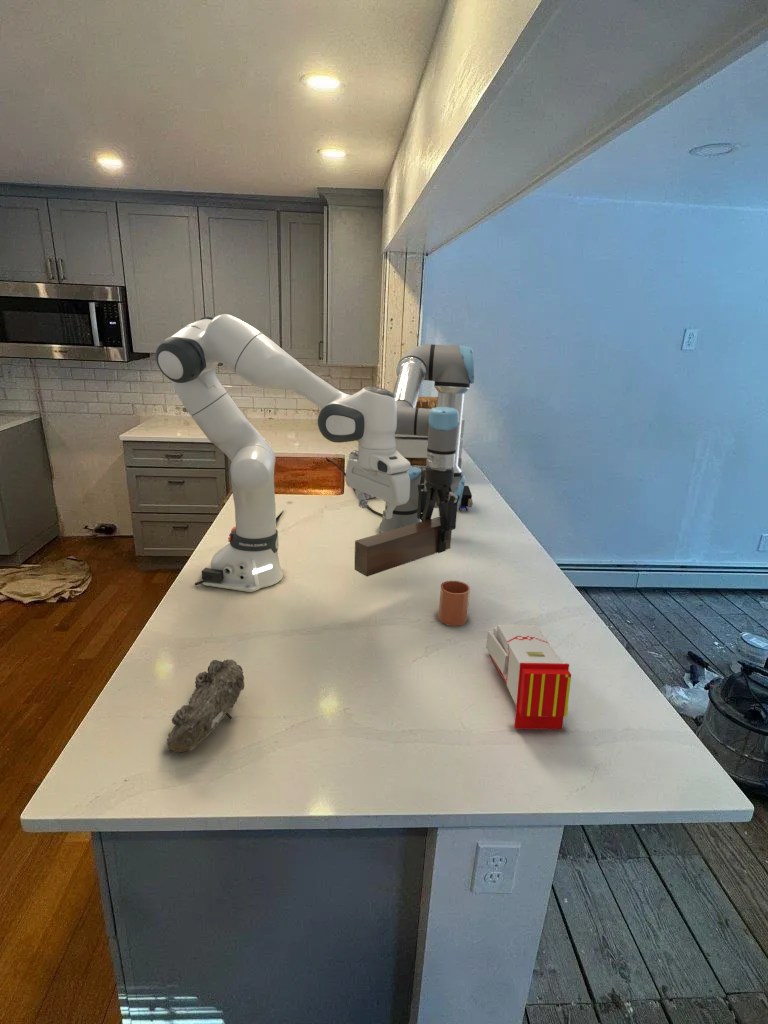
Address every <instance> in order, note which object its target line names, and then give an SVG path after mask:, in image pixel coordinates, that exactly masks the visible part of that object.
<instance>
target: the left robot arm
mask: <svg viewBox="0 0 768 1024" xmlns="http://www.w3.org/2000/svg"><path fill="white" fill-rule="evenodd" d="M155 362H156V364H157V367H158V369H159V370H160V372H161V373H162V374H163V375H164V377H166V378H167V379H168V380H170V381H171V383H172V386H173V387H172V388H173V389H174V391H175V393H176V395H177V396H178V397H177V398H179V400H180V403H182V406H183V407H184V408H185V411H186V412H187V413H188V415H190V416H191V418H192V419H193V421H194V422H195V423H196V425H197V426H198V428H199V429H200V430H201V431H202V433H203V434H204V435H205V436H206V438H207V439H208V440H209V442H210V443H212V444H213V445H215V446H216V448H218V449H219V450H220V451H221V452H222V453H223V454H224V455H225V456H226V457H227V458H228V459H229V461H230V462H231V463H230V467H229V472H230V482H231V491H232V497H233V503H234V504H233V505H234V518H235V526H233V527H232V528H231V530H230V533H229V535H228V538H227V539H228V540H227V542H228V543H227V544H226V545H225V546H224V547H222V548H220V549H219V550H218V551H217V552H215V553H214V555H213V557H212V559H211V562H210V566H208V567H205V568H203V569H202V570H201V580H200V581H197V582H194V585H195V586H198V585H201V584H202V585H204V586H207V587H213V588H221V589H226V590H234V591H239V592H240V591H241V592H246V593H253V592H256V591H258V590H261V589H263V588H268V587H271V586H274V585H276V584H278V583H279V582H280V581H281V580H283V577H284V573H283V571H282V567H281V564H280V558H279V552H278V551H279V545H280V543H279V532H278V529H277V523H276V518H277V505H276V495H275V494H276V493H275V468H276V454H275V451H274V449H273V447H272V446H271V445H270V444H269V443H268V442H267V440H266V439H265V438H264V437H263V435H261V433H260V432H259V431H258V430H257V429H256V427H254V426H253V424H252V423H251V422H250V421H249V420H248V419H247V417H246V416H245V415H244V414H243V412H242V411H241V410H240V408H239V407H238V405H237V403H235V401H234V400H233V398H232V397H231V396H230V394H229V392H228V391H227V390H226V389H225V387H224V386H223V384H222V383H221V382H220V381H219V379H218V376H217V374H216V373H217V372H216V370H217V367H218V366H219V367H222V366H226V367H227V368H229V369H230V370H232V372H234V373H235V374H236V375H238V376H239V377H240V378H242V379H243V380H245V381H247V382H248V383H250V384H252V385H254V386H257V387H258V388H262V389H275V390H276V389H277V390H285V391H286V390H287V391H291V392H294V393H296V394H298V395H300V396H302V397H303V398H305V399H306V400H308V401H309V402H310V403H312V404H314V405H315V406H317V407H319V408H320V409H321V410H320V412H319V413H318V417H317V426H318V430H319V432H320V434H321V435H322V436H323V438H325V439H326V440H327V441H328V442H332V443H336V444H337V443H349V442H354V441H355V442H357V444H358V445H357V446H358V447H357V448H358V450H355V449H354V450H352V451H351V452H350V453H349V455H348V460H347V463H346V469H345V473H346V476H345V479H344V481H345V484H346V486H347V487H349V488H352V489H353V488H354V489H356V492H355V491H354V493H355V496H356V498H357V500H358V503H357V506H358V507H359V508H360V509H366V508H368V507H367V505H368V502H369V501H368V499H365V495H364V493H366V494H369V495H371V496H374V498H376V499H378V500H381V501H383V502H385V504H386V506H388V507H387V509H386V510H385V509H384V510H383V511H382V514H383V516H382V518H383V517H384V518H386V519H391V518H392V515H393V510H394V509H395V507H396V506H398V505H403V504H406V503H407V502H408V500H409V496H410V477H409V474H408V473H407V472H406V471H408V470H410V467H412V466H411V465H410V462H409V461H408V460H407V459H405V458H404V457H403V456H402V455H401V454H400V453H399V452H398V451H396V442H395V432H396V429H397V404H396V399H395V396H394V395H393V392H392V391H390V390H388V389H386V388H383V387H378V386H372V385H371V386H364V387H363V388H362V389H360V390H359V391H357V392H355V393H354V392H349V391H345V390H342V389H339V388H338V387H336V386H335V385H333V384H332V383H331V382H329V381H328V380H326V379H324V378H323V377H321V376H320V375H319V374H317V373H315V372H314V371H312V370H310V369H309V368H307V367H306V366H304V365H303V364H302V363H301V362H299V361H298V360H297V359H296V358H294V357H293V356H292V355H290V354H289V353H288V352H286V351H285V350H284V349H283V348H282V347H280V346H279V345H278V344H277V343H276V342H275V341H273V340H272V339H271V338H270V337H268V336H266V335H265V334H264V333H263V332H261V331H260V330H258V329H257V328H256V327H254V326H252V325H250V324H249V323H247V322H245V321H243V320H242V319H240V318H237V317H236V316H234V315H231V314H228V313H223V314H219V315H209V316H204V317H201V318H200V319H198V320H196V321H193V322H191V323H189V324H187V325H185V326H183V327H181V329H180V330H178V331H177V332H175V333H174V334H172V335H171V336H169V337H166V338H165V339H164V340H162V341H161V343H160V344H159V345H158V346H157V348H156V350H155ZM354 489H353V490H354Z"/></svg>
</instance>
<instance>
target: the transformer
mask: <svg viewBox="0 0 768 1024" xmlns="http://www.w3.org/2000/svg"><path fill="white" fill-rule="evenodd" d="M437 403H438V396H418V399H417V403H416V408H424V409H432V408H435V407H437ZM464 429H465V419H464V418H462V425H461V436H460V447H459V458H458V467H459V468H460V469H461V470H462V461H463V460H462V453H463V442H464V441H463V440H462V439H463V438H464V431H465V430H464ZM395 442H396V451H398V452H399V453H400V454H401V455H402V456H403V457H404V458H405V459H407V460H408V461H409V462H410V465H411V466H410V467H417V466H418V467H427V465H426V459H427V447H428V436H417V435H402V434H395Z"/></svg>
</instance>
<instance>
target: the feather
mask: <svg viewBox="0 0 768 1024" xmlns="http://www.w3.org/2000/svg"><path fill="white" fill-rule="evenodd" d="M283 512H284V509H282V511H281V512H280V513H279V514H278V516H276V524H277V523H278V522H279V520H280V518H281V516H282V514H283Z"/></svg>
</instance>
